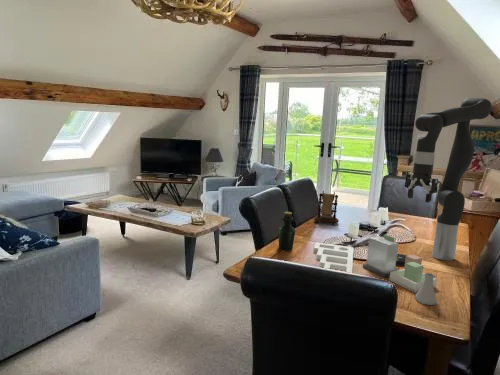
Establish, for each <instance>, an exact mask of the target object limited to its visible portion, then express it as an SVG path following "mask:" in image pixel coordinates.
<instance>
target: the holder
mask: <svg viewBox="0 0 500 375" xmlns="http://www.w3.org/2000/svg"><path fill="white" fill-rule="evenodd" d="M313 253H316V260H318V261H319V268H322V267H323V269H324V268H331V269H330V270H335V269H337V270H336V271H341V270H342V271H341V272H350V273H352V274H353V262H354V261H353V260H354V247H353V246H345V245H339V244H333V243H332V244H331V243H323V242H318V241H317V242H315V245H314V247H313Z"/></svg>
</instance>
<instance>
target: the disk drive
mask: <svg viewBox="0 0 500 375" xmlns="http://www.w3.org/2000/svg"><path fill="white" fill-rule="evenodd" d="M408 255H409V254H403V253H397V258H396V265H395V266H399V267H404V266H405V259H406V256H408Z"/></svg>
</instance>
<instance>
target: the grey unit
mask: <svg viewBox="0 0 500 375" xmlns="http://www.w3.org/2000/svg"><path fill="white" fill-rule="evenodd" d="M383 235H384V236H383V237H382V236H372V237H369V240H368V245H367V247H368V249H367V254H366V255H367V256H366V262H365V263H363V264H362V268H364V269H366V270H368V271H369V272H372V273H373V274H376V275H378V276H380V277H382V278H383V279H384V278H390V272H393V271H397V270H400V269H399V268H396V266H397V265H396V258H397V254H398V247H399V242H396V241H395V240H396V238H395V237H393V236H391V235H388V234H383Z"/></svg>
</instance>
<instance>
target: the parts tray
mask: <svg viewBox="0 0 500 375" xmlns="http://www.w3.org/2000/svg"><path fill="white" fill-rule="evenodd" d="M404 273H405V269H404V268H403V269H399V270H397V271H393V272H390V277H389V281H390V282H393V283H394V284H397V285H398V286H401V287H403V288H404V289H406V290H408V291H411V292H412V293H416V294H417V292H418V291H419V289H420V288H421V286H422V284H423V282H424V279H425V273H424V272H422V279H421V282H417V283H415V282H413V281H411V280H409V279H407V278H404ZM437 280H438V279H437V278H435V277H434V278H433V288H434V289H436V286H437Z"/></svg>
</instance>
